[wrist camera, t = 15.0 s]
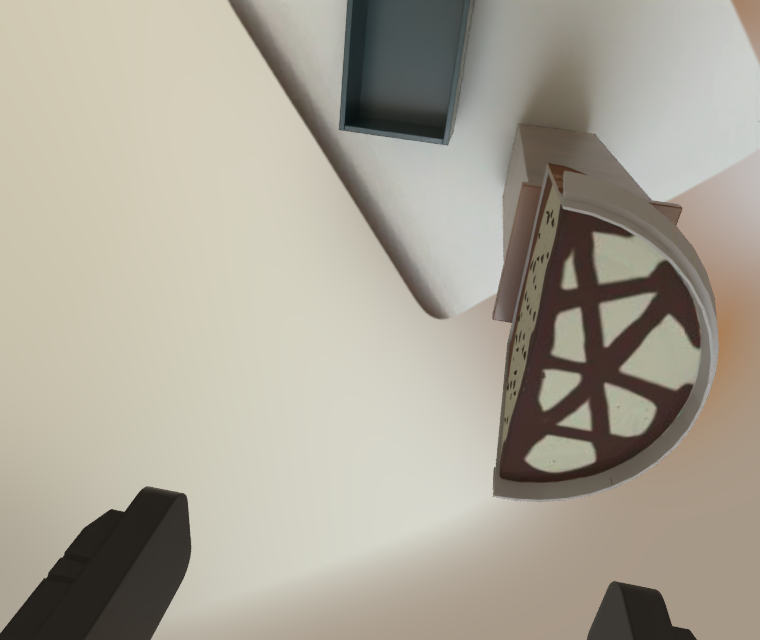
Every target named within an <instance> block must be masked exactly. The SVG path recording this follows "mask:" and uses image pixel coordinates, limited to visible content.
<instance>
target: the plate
mask: <svg viewBox="0 0 760 640" xmlns="http://www.w3.org/2000/svg"><path fill="white" fill-rule="evenodd" d="M541 189H542V184H536V183H529V182H522V183H521V188H520V192H519V197H518V201H517V206H516V210H515V215H514V219H513V224H512V229H511V233H510V238H509V242H508V247H507V251H506V256H505V260H504V265H503V269H502V274H501V278H500V283H499V287H498V292H497V297H496V301H495V306H494V310H493V320H499V321H505V322H510V323H512V321H513V316H514V312H515V307H516V303H517V298H518V293H519V289H520V284H521V280H522V275H523V271H524V266H525V262H526V257H527V253H528V248H529V244H530V239H531V234H532V230H533V225H534V221H535V216H536V212H537V207H538V203H539V198H540V194H541ZM643 200H644V201H646V202H648V203H650V204H651V205H652V206H654V207H655V208H656V209H657V210H658V211H660V212H661V213H662V214H663V215H664V216H665V217H667V218H668V219H669V220H670V221H671V222H672V223H674V224H675V225H677V222H678V219H679V216H680V214H681V211H682V207H681V206H680V205H679V204H673V203H666V202H659V201H652V200H645V199H643Z"/></svg>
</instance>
